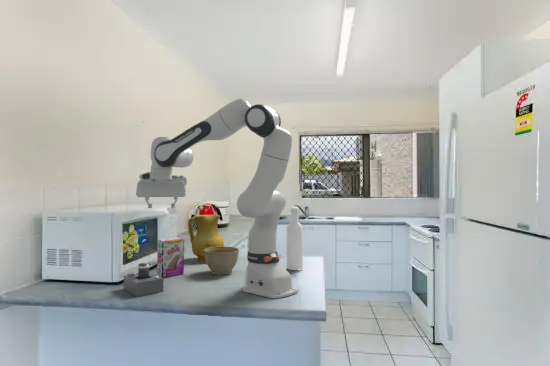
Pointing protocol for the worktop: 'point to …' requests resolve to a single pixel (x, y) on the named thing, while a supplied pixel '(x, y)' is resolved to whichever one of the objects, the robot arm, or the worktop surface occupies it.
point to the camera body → (143, 284)
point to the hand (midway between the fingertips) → (161, 207)
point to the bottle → (294, 242)
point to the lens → (143, 270)
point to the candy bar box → (170, 257)
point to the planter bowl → (221, 259)
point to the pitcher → (204, 234)
